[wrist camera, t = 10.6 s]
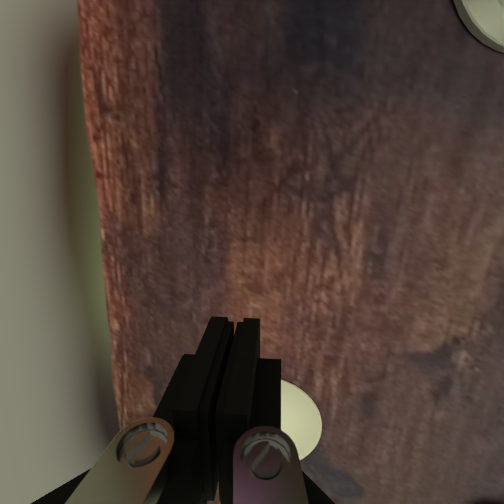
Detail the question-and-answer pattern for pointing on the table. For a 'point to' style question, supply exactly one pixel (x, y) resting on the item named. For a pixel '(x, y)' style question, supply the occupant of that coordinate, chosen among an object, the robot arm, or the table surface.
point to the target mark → (300, 418)
